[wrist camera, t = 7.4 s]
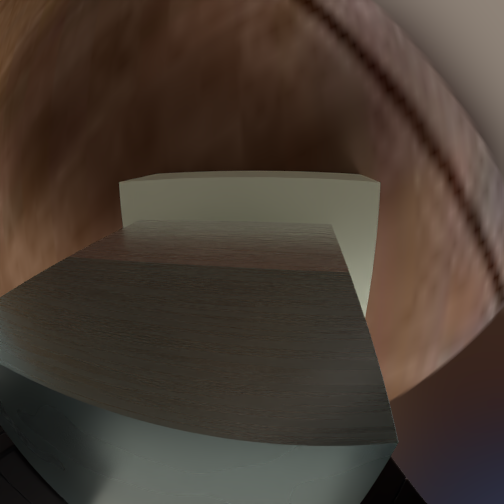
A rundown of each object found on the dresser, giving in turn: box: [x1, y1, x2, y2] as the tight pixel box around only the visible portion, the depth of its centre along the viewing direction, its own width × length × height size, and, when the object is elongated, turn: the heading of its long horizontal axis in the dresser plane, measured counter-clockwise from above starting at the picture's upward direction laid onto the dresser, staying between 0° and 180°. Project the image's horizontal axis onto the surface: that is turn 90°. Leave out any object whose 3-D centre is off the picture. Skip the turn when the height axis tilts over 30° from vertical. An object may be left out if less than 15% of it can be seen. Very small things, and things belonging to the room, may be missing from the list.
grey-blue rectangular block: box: [0, 220, 398, 504], centre depth 6 cm, size 5×8×6 cm, turn 0°
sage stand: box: [119, 171, 381, 317], centre depth 11 cm, size 10×8×3 cm
